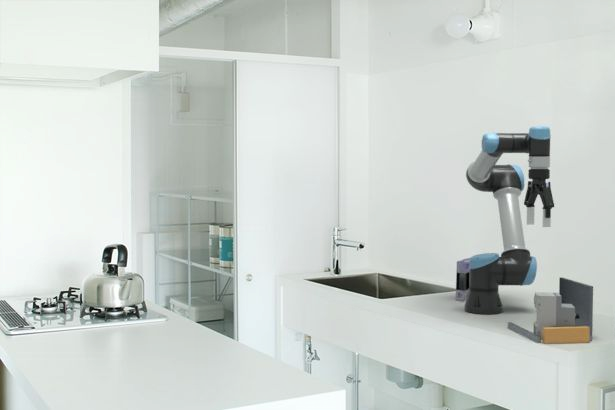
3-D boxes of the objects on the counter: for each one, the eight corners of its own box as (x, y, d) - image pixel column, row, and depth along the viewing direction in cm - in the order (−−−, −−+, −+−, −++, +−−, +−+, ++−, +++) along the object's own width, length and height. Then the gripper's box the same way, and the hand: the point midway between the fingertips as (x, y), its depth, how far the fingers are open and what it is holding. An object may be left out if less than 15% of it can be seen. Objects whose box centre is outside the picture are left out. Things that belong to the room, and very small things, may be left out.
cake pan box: (464, 301, 337) (465, 261, 336) (453, 300, 339) (454, 260, 338) (480, 295, 353) (480, 257, 352) (470, 294, 355) (470, 256, 355)
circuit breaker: (579, 341, 259) (580, 296, 258) (535, 339, 262) (536, 295, 261) (576, 336, 266) (577, 293, 266) (533, 334, 269) (534, 292, 268)
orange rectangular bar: (542, 342, 257) (542, 327, 256) (586, 341, 259) (586, 326, 259) (545, 343, 255) (545, 328, 254) (589, 342, 257) (589, 327, 257)
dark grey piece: (507, 327, 281) (508, 278, 280) (561, 326, 284) (562, 277, 283) (537, 342, 256) (538, 288, 255) (596, 340, 259) (597, 287, 258)
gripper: (515, 168, 297) (514, 223, 298) (544, 168, 272) (543, 228, 273) (534, 168, 298) (533, 223, 299) (564, 168, 273) (563, 228, 274)
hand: (538, 225), depth 286 cm, fingers open, 13 cm apart
